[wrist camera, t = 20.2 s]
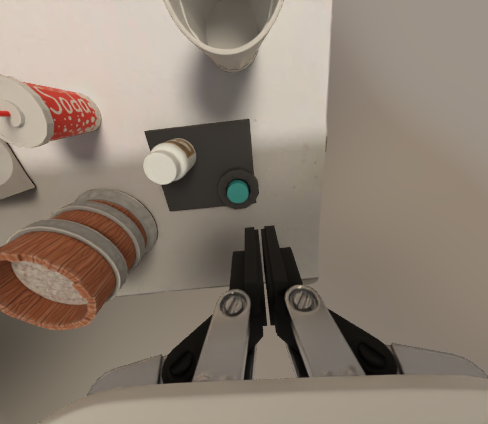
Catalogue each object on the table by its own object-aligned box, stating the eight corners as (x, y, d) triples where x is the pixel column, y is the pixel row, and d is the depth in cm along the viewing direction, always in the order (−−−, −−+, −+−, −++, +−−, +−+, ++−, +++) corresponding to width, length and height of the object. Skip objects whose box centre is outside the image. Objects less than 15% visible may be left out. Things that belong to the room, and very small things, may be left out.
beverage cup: (114, 134, 27) (3, 154, 14) (73, 140, 27) (-71, 163, 15) (93, 82, 24) (-67, 51, 12) (47, 89, 24) (-157, 65, 12)
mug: (173, 242, 35) (131, 320, 22) (91, 271, 39) (12, 355, 25) (124, 173, 29) (25, 224, 16) (32, 215, 33) (-112, 286, 19)
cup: (188, 0, 21) (129, -121, 10) (261, -20, 20) (283, -171, 9) (208, 86, 24) (181, 66, 14) (271, 72, 24) (293, 39, 13)
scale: (252, 118, 26) (253, 119, 23) (258, 199, 31) (259, 207, 29) (148, 130, 27) (138, 132, 24) (172, 207, 32) (166, 216, 29)
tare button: (247, 178, 27) (247, 182, 26) (249, 198, 28) (249, 202, 27) (226, 180, 27) (225, 184, 26) (229, 200, 29) (228, 204, 27)
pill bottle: (198, 142, 26) (182, 152, 19) (195, 173, 28) (179, 192, 21) (165, 134, 25) (137, 142, 19) (164, 166, 27) (138, 184, 21)
